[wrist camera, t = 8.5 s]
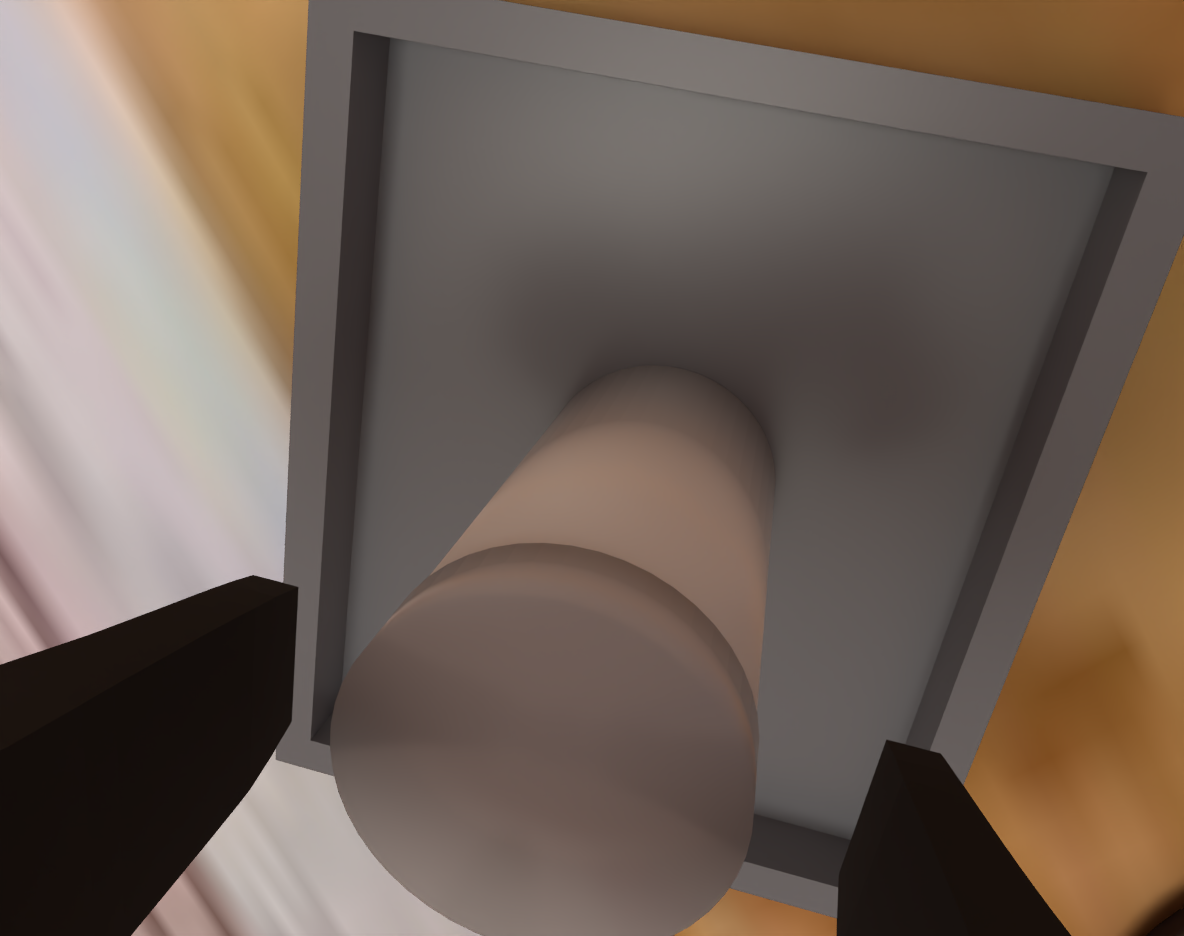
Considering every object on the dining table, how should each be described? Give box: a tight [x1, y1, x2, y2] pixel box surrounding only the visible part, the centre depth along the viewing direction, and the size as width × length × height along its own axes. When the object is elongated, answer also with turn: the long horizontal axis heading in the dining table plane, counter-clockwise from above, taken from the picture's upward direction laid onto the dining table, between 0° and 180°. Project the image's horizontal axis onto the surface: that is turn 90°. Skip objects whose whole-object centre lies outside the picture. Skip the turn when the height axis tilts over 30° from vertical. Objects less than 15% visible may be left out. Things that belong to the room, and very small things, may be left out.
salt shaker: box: [330, 365, 775, 936], centre depth 14 cm, size 5×5×9 cm
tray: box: [276, 0, 1184, 918], centre depth 18 cm, size 14×16×2 cm
